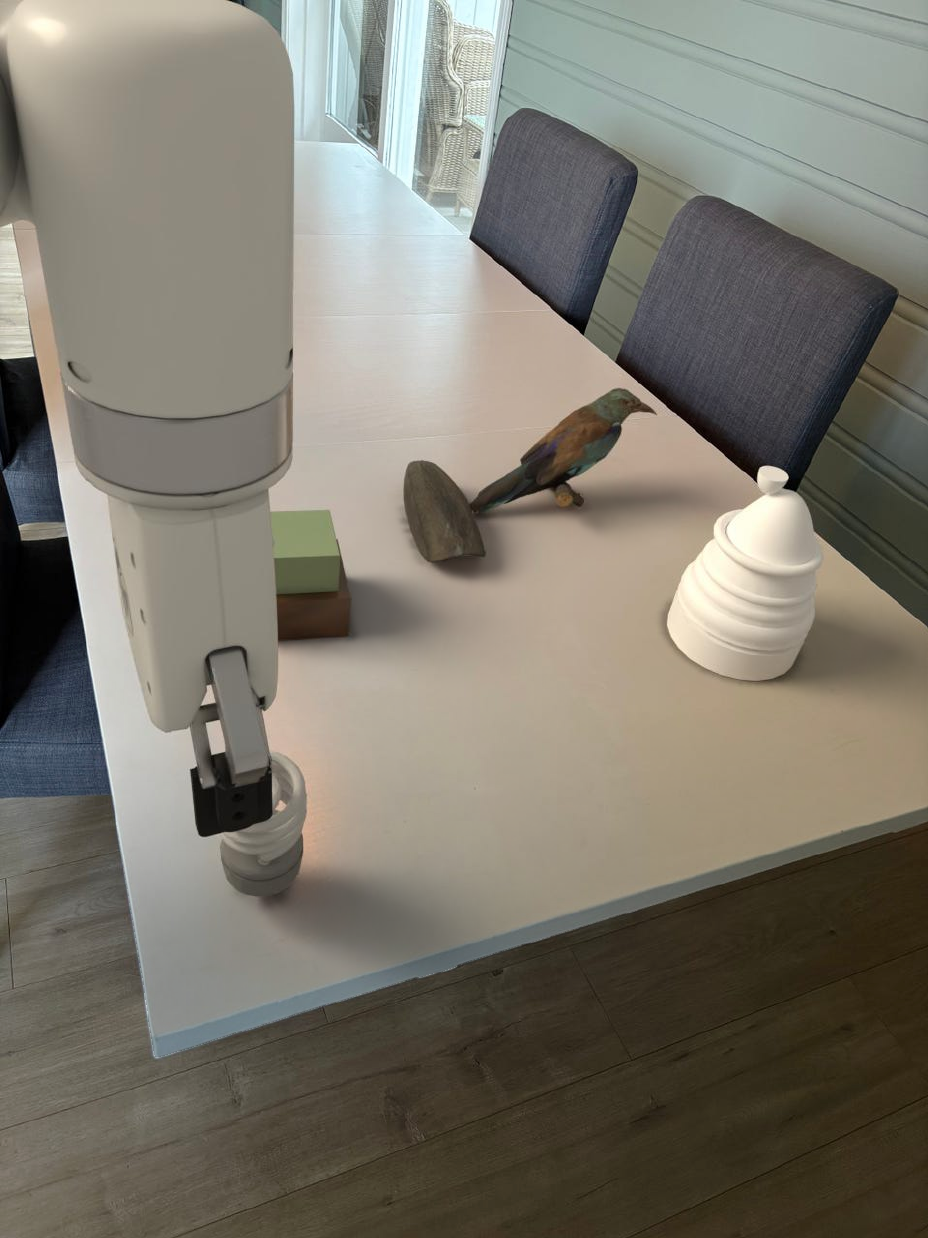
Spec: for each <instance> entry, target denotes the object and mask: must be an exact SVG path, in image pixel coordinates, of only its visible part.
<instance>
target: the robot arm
mask: <svg viewBox="0 0 928 1238" xmlns="http://www.w3.org/2000/svg"><path fill="white" fill-rule="evenodd" d="M294 84H295V83H294V72H293V67H292V64H291V59H290V55H289V53H288V50H287V47H286V44H285V42H284V40H283V39H282V37H281V35H280V33H279V31H278V30H277V29H276V28H275V27H273V25H272V24H271V23H270V22H269V21H268V20H267V19H266V18H264V17H263V15H260V14H259V13H257V12H255V11H253V10H252V9H249V8H247V7H245V6H244V5H241V4H239V3H237V2H233V1H230V0H0V228H4V227H5V226H8V225H10V224H14V223H17V222H18V221H27V222H28V223H31V224H32V225H33V226H34V227H35V233H36V234H35V235H36V238H37V239H36V240H37V245H38V251H39V256H40V262H41V269H42V273H43V280H44V285H45V286H44V287H45V291H46V297H47V303H48V309H49V314H50V315H49V316H50V320H51V327H52V331H53V337H54V343H55V348H56V349H55V350H56V354H57V361H58V366H59V370H60V379H61V386H62V391H63V392H62V393H63V397H64V403H65V404H64V405H65V408H66V409H65V411H66V415H67V421H68V426H69V433H70V438H71V445H72V449H73V450H72V451H73V456H74V462H75V465H76V468H77V469H78V472H79V474H80V475H81V476H82V478H83V479H84V480H85V481H86V482H88V483H90V485H91V486H92V487H94V488H95V489H96V490H98V491H100V492H102V493H104V494H106V495H107V507H108V515H109V523H110V528H111V537H112V544H113V551H114V558H115V567H116V569H115V570H116V577H117V589H118V597H119V604H120V607H121V612H122V616H123V621H124V626H125V629H126V634H127V639H128V641H129V646H130V650H131V655H132V658H133V662H134V666H135V670H136V673H137V678H138V680H139V685H140V688H141V689H140V690H141V693H142V696H143V700H144V703H145V707H146V711H147V714H148V717H149V720H150V722H151V723H152V725H154V727H155V728H157V729H158V730H160V731H162V732H164V733H166V734H168V733H172V732H176V731H182V730H183V731H184V730H188V729H189V730H190V736H191V742H192V747H193V752H194V757H195V763H196V766H195V767H193V768H190V769H189V772H190V773H189V774H190V782H191V783H190V784H191V792H192V794H191V795H192V803H193V812H194V813H193V815H194V822H195V823H194V824H195V828H196V830H197V834H198V836H199V837H201V838H207V837H211V836H215V835H220V833H223V832H236V831H239V830H243V829H246V828H249V827H250V826H252V825H253V824H257V823H261V822H264V821H267V820H269V819H270V818H271V817H272V814H273V807H272V759H271V756H270V751H271V750H270V746H269V741H268V736H267V730H266V725H265V719H264V714H263V712H267V711H268V710H269V708H270V707H271V706H272V705H273V703H274V701H275V699H276V697H277V691H278V684H279V683H278V680H279V640H278V626H277V601H276V582H275V566H274V551H273V547H274V538H273V536H272V525H271V503H270V491H269V489H271V488H272V487H274V486H275V485H277V483H278V482H279V481H281V480H282V479H283V478H284V477H285V475H286V474H287V472H288V471H289V469H290V468H291V465H292V462H293V457H294V456H293V451H294V450H293V442H294V436H293V435H294V371H293V370H294V271H295V269H294V265H295V264H294V263H295V262H294V257H295V256H294V255H295V254H294V252H295V249H294V248H295V247H294V245H295V241H294V240H295V236H294V235H295V86H294ZM208 686H211V689H212V694H213V697H214V698H213V699H214V702H210V703H207V704H203V701H204V699H205V697H206V695H207V693H208ZM217 721H219V723H220V727H221V731H222V737H223V741H224V749H225V750H224V751H222V752H217V753H213V754H212V750H211V744H210V738H209V733H208V727H207V723H212V722H213V723H214V722H217Z"/></svg>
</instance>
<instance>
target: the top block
mask: <svg viewBox="0 0 928 1238" xmlns="http://www.w3.org/2000/svg"><path fill="white" fill-rule="evenodd" d="M270 512H271V525H272V536H273V538H274V547H273V551H274V566H275V582H276V594H295V593H315V592H334V591H338V588H339V567H340V553H339V549H338V544H337V540H336V539H337V537H336V531H335V526H334V522H333V517H332V514H331V510H330V509H312V510H311V509H310V510H309V509H308V510H278V511H277V510H273V511H271V510H270Z"/></svg>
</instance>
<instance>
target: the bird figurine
mask: <svg viewBox="0 0 928 1238" xmlns="http://www.w3.org/2000/svg"><path fill="white" fill-rule="evenodd" d="M633 413H634V414H635V413H650V414H654V415H655V416H658V413H657V412H656V411H655V410H654V408H652V407H651V406H649V404H646V403H644V402H642V401H641V399H640V398H639V397H637V396H636V395H635V394H633V393H632V392H631V391H629V389H627V388H621V387H617V388H613V389H611V390H609V391H608V392H606V393H605V394H603V395H601V396H599V397H598V398H597V399H595V400H594V401H592V402H590V403H588V404H586V405H584V406H581V407H580V408H578V409H575V410H574V411H572V412H571V413H570V414H569V415H567V416H566V417H564V418H563V419H561V421H559V423H558V424H557V425H556V426H554V427H553V428H552V429H551V430H550V431H549V432H547V433H546V434H545V435H543V437H542V438H540V439H539V441H537V442H536V443H535V444H533V445H532V446H531V447H530V448H529V449H528V450H527V451H526V452H525V453H524V454H523V455H522V456H521V457H520V459H519V460H520V465H519V466H518V467H516V468H514V469H513V470H511V471H509V472H508V473H506V474H505V475H504V476H502V477H500V478H498V479H496V480H494V481H493V482H492V483H490V484H488V485H486V487H484V488H483V489H481V490H480V491H479V492H478V494H477V496H476V497H475V498H474V499H473V500H471V501H470V502H468V503H469V505H470V507H471V509H472V512H473V513H474V512H475V515H476V516H484V515H485V514H487V513H489V512H491V511H492V510H494V509H497V508H498V507H500V506H502V505H505V504H510V503H511V502H514V501H516V500H518V499H521V498H524V497H526V496H530V495H533V494H537V493H539V492H542V491H545V490H551V491H552V492H553V494H554V496H555V500H556V504H557V505H558V506H559V507H561V508H566V507H570V505H571V504H573V505H575V506H576V508H581V507H583V506H584V504H585V498H584V497H583V496H582V495H581V493H580V492H576V490H574V489H573V488H572V486H571V484H569V483H568V482H569V481H570V480H571V479H573V478H574V477H575V478H576V477H578V476H580V475H582V474H584V473H586V472H587V471H589V470H590V469H592V468H593V467H594V466H595V465H597V464H598V463H599V462H601V461H602V460H604V459H605V458H607V456H608V455H609V453H610V452H611V451H612V450H613V448H614V447H615V446H616V444H617V443H618V441H619V439H620V437H621V435H622V431H623V427H622V424H623V423H624V422H625V421H626V419H627V418H628V417H629V416H630V415H632V414H633Z"/></svg>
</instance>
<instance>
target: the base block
mask: <svg viewBox="0 0 928 1238" xmlns="http://www.w3.org/2000/svg"><path fill="white" fill-rule="evenodd" d="M336 540H337V544H338V549H339V553H340V567H339V588H338V591H334V592H315V593H295V594H276V601H277V626H278V641H291V640H305V639H306V640H307V639H321V638H322V639H323V638H337V637H349V635H350V626H351V625H350V622H351V609H352V605H351V604H352V596H351V592H350V588H349V587H350V586H349V582H348V578H347V574H346V569H345V566H344V562H343V561H344V560H343V556H342V552H341V548H340V547H341V546H340V544H339V539H338V538H336Z"/></svg>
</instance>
